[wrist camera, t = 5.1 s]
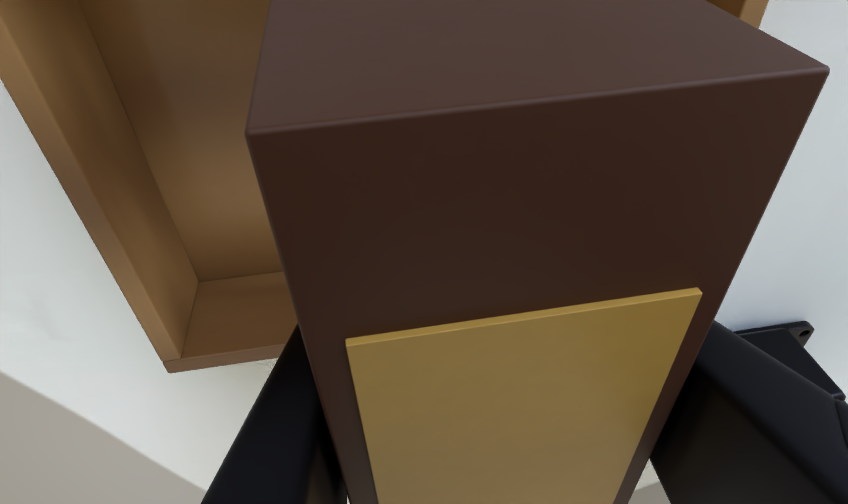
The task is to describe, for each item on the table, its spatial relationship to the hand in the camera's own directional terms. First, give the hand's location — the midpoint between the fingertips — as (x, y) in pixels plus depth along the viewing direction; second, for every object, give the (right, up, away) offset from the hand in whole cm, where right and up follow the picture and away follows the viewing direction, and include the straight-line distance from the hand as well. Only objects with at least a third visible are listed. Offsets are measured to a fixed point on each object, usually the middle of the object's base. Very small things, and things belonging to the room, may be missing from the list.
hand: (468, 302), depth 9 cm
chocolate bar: (0, 0, +1) cm, 1 cm away
